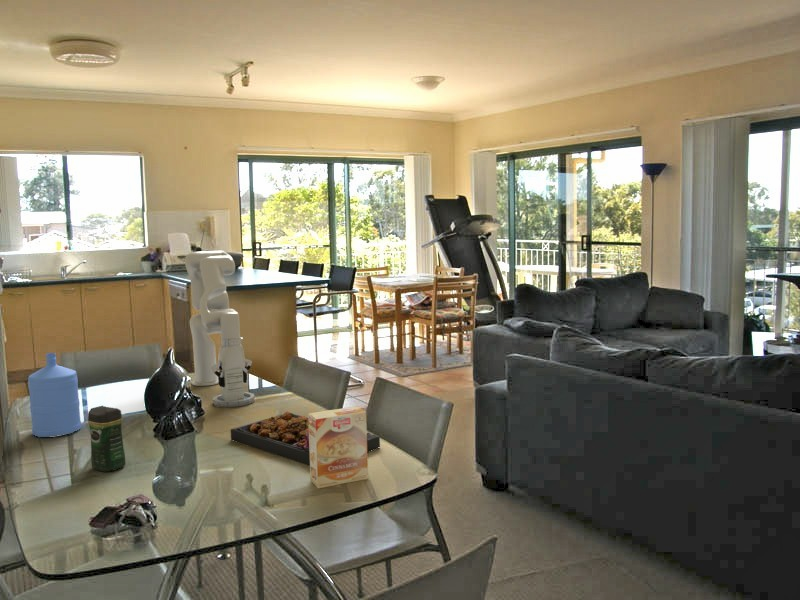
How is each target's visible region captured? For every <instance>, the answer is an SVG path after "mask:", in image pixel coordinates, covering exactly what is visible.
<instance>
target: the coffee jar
mask: <svg viewBox="0 0 800 600" xmlns="http://www.w3.org/2000/svg"><path fill="white" fill-rule="evenodd" d="M87 414H88V415H87V422H88V427H89V433H90V434H89V435H90V449H91V450H90V452H91V453H90V454H91V455H90V457H91V462H90V463H91V468H92V469H93V470H97V471H100V472H105V471H107V472H110V471H111V470H112V471H116V470H115V469H118V468H120V469H122V468H123V467H125V466H126V455H125V448H124V439H123V431H122V430H123V429H122V428H123V427H122V426H123V425H122V424H123V415H122V410H121V409H119V408H117V407H110V406H104V405H100V406H95V407H91V408H90V409H89V411H88V413H87ZM121 467H122V468H121ZM118 470H119V469H118Z"/></svg>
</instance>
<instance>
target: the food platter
mask: <svg viewBox="0 0 800 600" xmlns="http://www.w3.org/2000/svg"><path fill="white" fill-rule="evenodd" d="M230 440H231V441H232V440H234V441H233V442H235V441H237V442H236V443H238V442H239V443H238V444H241V443H242V445H244V444H245V446H247V445H248V447H251V448H254V449H257V450H260V451H262V452H266V453H269V454H272V455H276V456H278V457H281V458H284V459H287V460H290V461H293V462H296V463H300V464H304V465H306V466H309V467H310V452H309V424H308V416H306V415H305V416H303V415H299V414H295V413H293V412H290V411H285V412H284V413H282V414H280V415H278V414H277V415H275V416H271V417H269V418H264V419H261V420H258V421H255V422H250V423H247V424H244V425H239V426H236V427H233V428H230ZM378 447H380V448H381V440H380V436H379V435H377V434H373V433H371V432H367V452H368V453H370V452H372V451H371V450H373V449H376V448H378ZM378 449H379V448H378ZM376 450H377V449H376ZM369 451H370V452H369ZM373 451H374V450H373Z"/></svg>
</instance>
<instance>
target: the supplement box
mask: <svg viewBox="0 0 800 600" xmlns="http://www.w3.org/2000/svg"><path fill="white" fill-rule="evenodd" d="M223 377H224V383H225V387H221V386H220V388H221V394H222V399H224V400H225V401H238V400H243V399H244V392H245V389H244V388H245V387H244V382H243V369H234V370H228V371H224V375H223Z"/></svg>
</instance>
